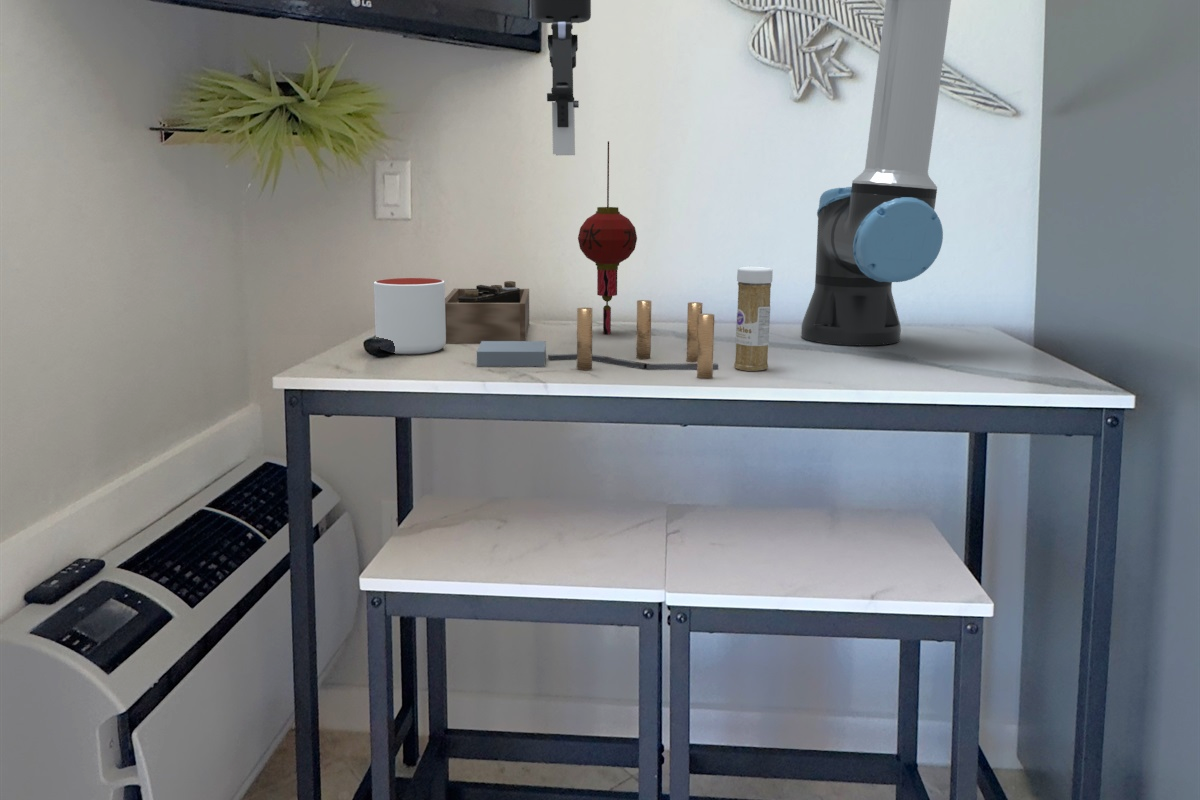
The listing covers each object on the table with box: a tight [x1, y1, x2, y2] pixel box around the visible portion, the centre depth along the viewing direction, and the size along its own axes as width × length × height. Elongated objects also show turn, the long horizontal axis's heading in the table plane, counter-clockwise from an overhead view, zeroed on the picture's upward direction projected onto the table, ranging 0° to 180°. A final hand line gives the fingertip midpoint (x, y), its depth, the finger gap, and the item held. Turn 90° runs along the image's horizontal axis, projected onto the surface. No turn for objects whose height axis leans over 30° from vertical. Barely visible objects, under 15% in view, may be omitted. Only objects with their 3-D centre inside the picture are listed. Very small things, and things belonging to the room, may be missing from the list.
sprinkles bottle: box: [734, 265, 773, 372], centre depth 144 cm, size 5×5×13 cm
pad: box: [476, 340, 547, 368], centre depth 150 cm, size 9×9×2 cm
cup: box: [373, 277, 447, 355], centre depth 157 cm, size 10×10×10 cm
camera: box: [457, 280, 521, 303], centre depth 173 cm, size 16×7×8 cm, turn 157°
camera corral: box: [445, 288, 530, 344], centre depth 174 cm, size 13×21×6 cm, turn 2°
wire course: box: [547, 299, 719, 380], centre depth 145 cm, size 23×16×8 cm
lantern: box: [577, 140, 638, 335], centre depth 172 cm, size 10×10×30 cm
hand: (564, 155), depth 148 cm, fingers open, 13 cm apart
